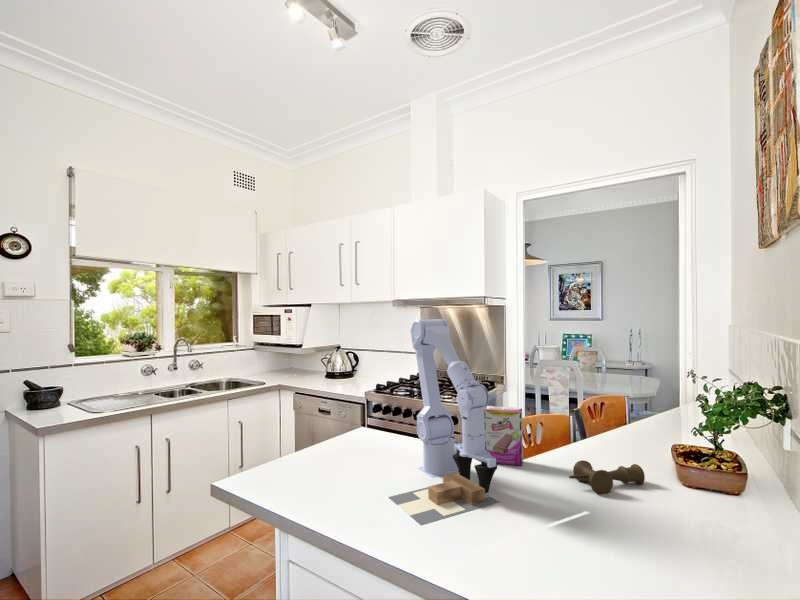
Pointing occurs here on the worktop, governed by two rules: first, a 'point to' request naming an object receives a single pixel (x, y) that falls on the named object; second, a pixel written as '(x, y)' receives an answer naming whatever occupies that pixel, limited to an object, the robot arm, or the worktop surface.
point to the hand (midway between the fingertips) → (474, 487)
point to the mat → (434, 506)
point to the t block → (456, 490)
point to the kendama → (607, 476)
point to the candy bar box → (504, 434)
